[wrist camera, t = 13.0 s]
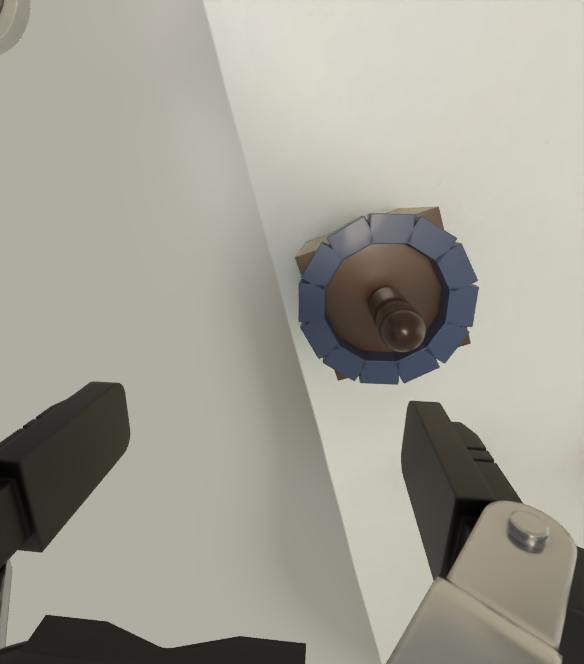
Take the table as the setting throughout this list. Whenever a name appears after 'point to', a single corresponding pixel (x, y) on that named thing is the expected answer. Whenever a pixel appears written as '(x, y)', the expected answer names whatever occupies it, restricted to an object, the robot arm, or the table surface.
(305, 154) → the table surface
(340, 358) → the ring
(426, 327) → the stand
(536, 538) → the robot arm
